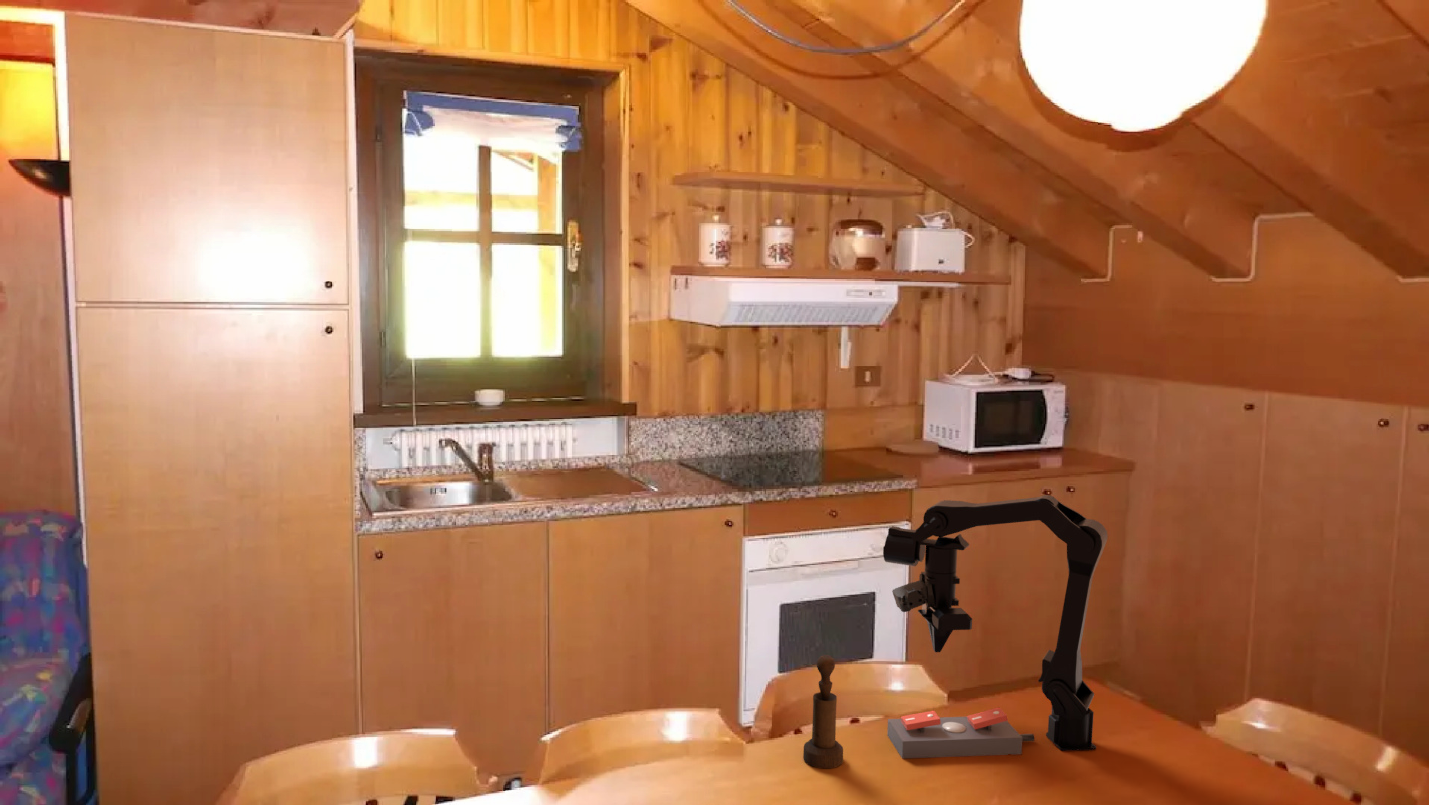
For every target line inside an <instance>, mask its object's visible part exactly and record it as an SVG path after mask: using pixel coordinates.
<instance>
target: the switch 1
mask: <svg viewBox="0 0 1429 805" xmlns="http://www.w3.org/2000/svg"><path fill="white" fill-rule="evenodd" d="M939 717H940V716H939V715H938V714H937V713H936V711H935V710H929V711H923V712H919V713H918V712H917V713H913V714H906V715H902V716H900V719H901V722H902V724H903V725H904V727H905V728H906V729H907V730H911V729H917V728H923V727H928V726H934V725H939V724H941V722H940V718H939Z"/></svg>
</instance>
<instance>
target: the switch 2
mask: <svg viewBox="0 0 1429 805" xmlns="http://www.w3.org/2000/svg"><path fill="white" fill-rule="evenodd" d="M966 717H967V719H968V722H969V723H970V724H971V726H972V727H973V728H974V729H979V728H982V727H986V726H990V725H993V724H997V723H1000V722H1004V721H1007V722H1008V715H1007V714H1006V713H1005V712H1004V711H1003V709H1002V708H1000V707H999V706H998V707H995V708H991V709H987V710H984V711H981V712H977V713H973V714H969V715H967V716H966Z"/></svg>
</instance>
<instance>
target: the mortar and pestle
mask: <svg viewBox="0 0 1429 805" xmlns="http://www.w3.org/2000/svg"><path fill="white" fill-rule="evenodd" d="M816 668H817V670H818V673H819V674H820V677H821V678H820V680H819V681H818V689H819V691H818V692H816V693H813V698H812V700H813V701H812V729H811V731H812V733H811V738H810V739H809V740H808V741H806V742H805V743H804V744H803V754H802V757H803V758H802V759H803V761H804V762H805V763H806V764H807V763H808V765H809V766H811V767H814V766H816V767H815V768H818V767H819V769H820V768H821V769H833V768H837V767H839V766H842V764H843V762H844V747H843V746H842V744H841V743H840V742H839V741H838V740H836V735H837V734H836V733H837V732H836V730H837V729H836V728H837V727H836V726H837V725H836V724H837V702H838V701H837V700H838V699H837V698H838V697H837V695H836V694H835V693H833V692H831V691H832V688H833V682H832V681H831V675H832V673H833V672H834V669H835V668H836V662H835V660H834V658H833V657H831V656H830V655H828V654H827V655H826V654H824V655H821V656H819V658H817V661H816Z"/></svg>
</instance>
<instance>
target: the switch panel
mask: <svg viewBox="0 0 1429 805" xmlns="http://www.w3.org/2000/svg"><path fill="white" fill-rule="evenodd" d="M938 717H939V718H940V722H941V724H939V725H934V726H928V727H923V728H917V729H911V730H907V729H906V728H905V727H904V725H903V724H902V722H901V718H888V719H887V733H886V734H887V735H886V736H887V737H888V739H889V740H890V742H891V744H892V745H893V746H894V748H895V749H896V751H897V753H898V754H899V756H900V757H901V759H920V758H921V759H923V758H949V757H951V758H952V757H977V756H978V757H981V756H1006V755H1008V754H1011V755H1022V750H1023V749H1022V748H1023V742H1034V741H1035V734H1034V733H1021V734H1020V733H1019V732H1018V731H1017V730H1016V729H1015V727H1014V726H1012V725H1011V723H1009V722H1008V721H1004V722H1000V723H997V724H993V725H990V726H986V727H982V728H979V729H974V728H973V727H972V726H971V724H970V723H969V722H968V719H967V716H946V717H945V716H944V717H940V716H938ZM1008 756H1009V755H1008Z"/></svg>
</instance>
